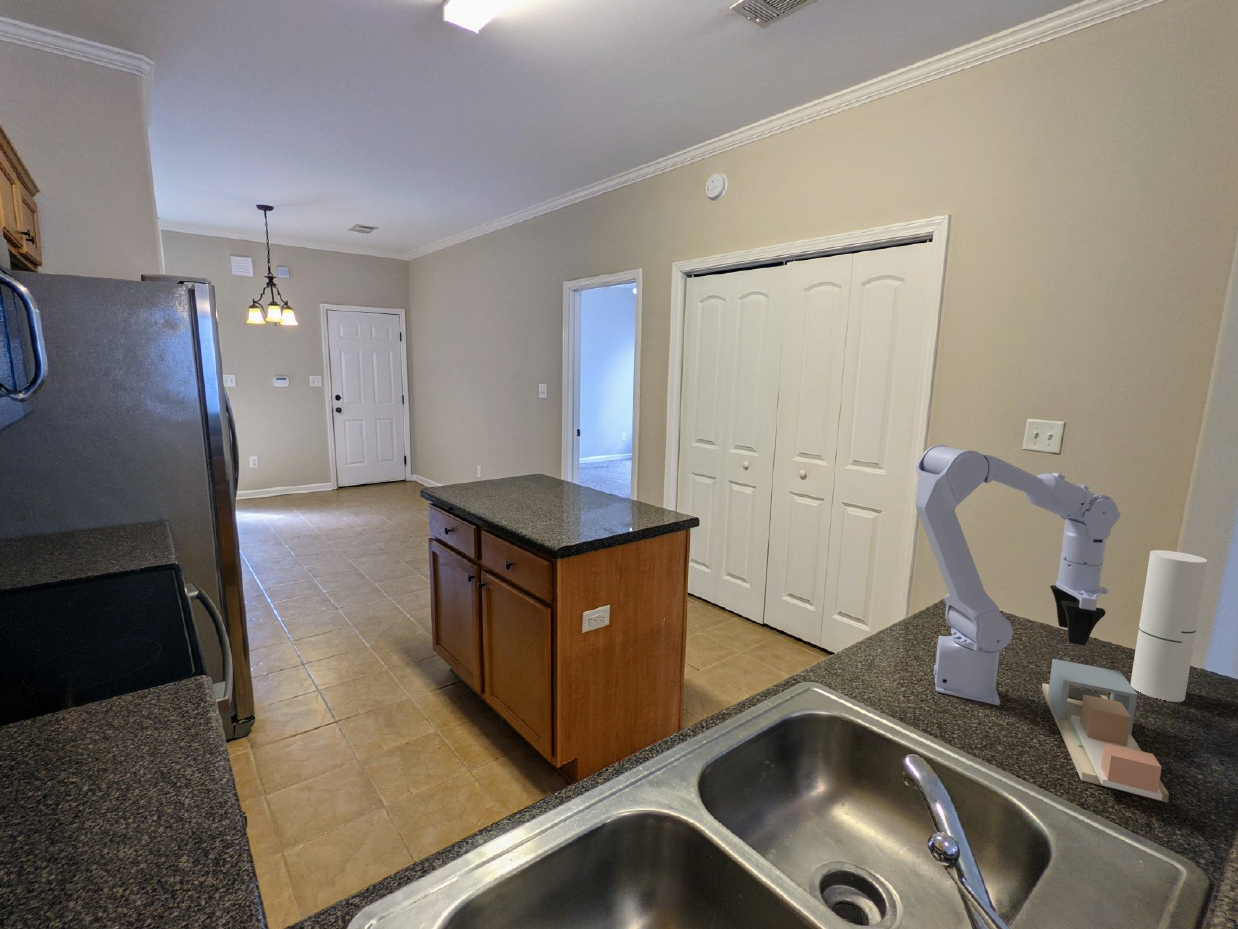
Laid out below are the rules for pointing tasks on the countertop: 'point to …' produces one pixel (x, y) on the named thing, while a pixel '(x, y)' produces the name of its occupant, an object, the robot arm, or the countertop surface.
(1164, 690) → the cylindrical container
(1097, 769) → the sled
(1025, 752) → the countertop surface
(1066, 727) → the board
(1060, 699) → the tunnel
